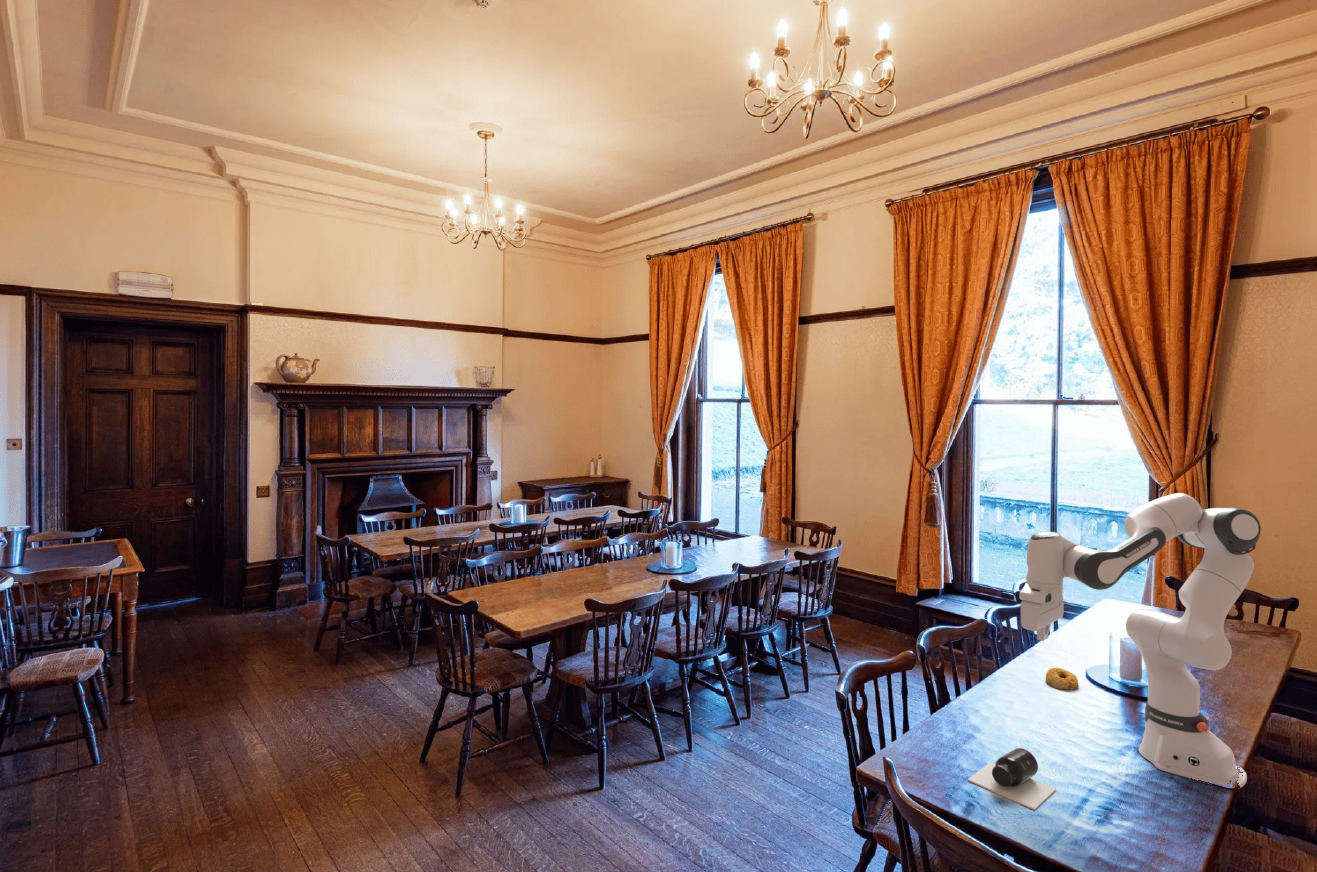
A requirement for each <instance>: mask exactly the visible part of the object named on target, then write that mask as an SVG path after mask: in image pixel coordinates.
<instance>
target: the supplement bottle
mask: <svg viewBox="0 0 1317 872" xmlns="http://www.w3.org/2000/svg"><path fill="white" fill-rule="evenodd" d="M994 764H995V767H994V768H993V770H992V776H993V778H994V780H995V781H996V782H997V783H998V784H999V785H1001V786H1005V787H1006V786H1009V785H1010V786H1018V785H1020V784H1021V783H1023V782H1025V781H1026V780H1028V779H1029V778H1031V779H1032V777H1034V776H1035V775H1037V772H1038V771H1039V764H1038V761H1037V759H1036V757H1035V756H1034V755H1033V754H1032V752H1030V751H1029V750H1028V749H1025V748H1022V747H1016V748H1015V749H1013V750H1011V751H1009V752H1007V753H1005V754H1004V755H1002V756H1001V757H1000V758H998V759H997V760H996V761H995V763H994Z"/></svg>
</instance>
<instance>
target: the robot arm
mask: <svg viewBox="0 0 1317 872" xmlns="http://www.w3.org/2000/svg"><path fill="white" fill-rule="evenodd" d="M1261 527H1262V526H1261V523H1260V520H1259V518H1258V517H1257V516H1256V515H1255V514H1254V513H1253V512H1251V511H1248V510H1246V509H1242V508H1239V507H1225V508H1224V507H1211V508H1205V509H1204V508H1203V507H1201V504H1200V503H1199V502H1198V501H1197V500H1196V499H1195V498H1194V497H1193V496H1191V495H1189V494H1187V493H1182V492H1180V493H1179V492H1175V493H1171V494H1168V495H1164V496H1162V497H1161V496H1160V497H1159V498H1156V499H1153V500H1151V501H1148V502H1146V503H1145V504H1144V503H1143V504H1142V505H1140V506H1137V508H1135V509H1133V510H1131V511H1130V512H1129V513H1128V514H1127V515H1126V516H1125V519H1124V528H1125V532H1126V533H1127V536H1128V538H1129V539H1127V540H1126V541H1124V542H1121V543H1120V544H1119V545H1117V546H1116V547H1114V548H1112V549H1108V550H1098V549H1093V548H1090V547H1087V546H1085V545H1082V544H1078V543H1076V542H1073V541H1071V540H1069V539H1067V538H1065V537H1064V536H1062V534H1061V533H1058V532H1057V531H1039V532H1036V533H1034V534H1031V535H1030V538H1029V540H1028V544H1027V551H1026V566H1027V573H1026V578H1025V584H1024V586H1023V587H1022V589H1021V590H1020V591H1019V600H1021V602H1020V624H1021V627H1022V628H1023V629H1025V630H1029V631H1032V632H1035V633H1036V639H1037V641H1041V642H1044V641H1045V640H1047V639H1049V632H1050V629H1051V625H1052V623H1055V622H1056V621H1058V620H1060V619H1062V618H1063V616H1064V613H1065V612H1064V611H1065V609H1064V606H1065V605H1064V596H1063V592H1064V591H1063V590H1064V588H1063V587H1064V581H1063V580H1064V578H1069V579H1072V580H1074V581H1077V582H1079V583H1082V584H1083V585H1085V586H1086V587H1089V588H1091V589H1093V590H1096V591H1098V590H1099V591H1104V590H1108V589H1110V588H1112V587H1113V586H1115V584H1117V583H1118V582H1119V581H1120V580H1121V578H1123V576H1124V575H1126V574H1127V572H1129V571H1130V570H1131V569H1133V568H1135V567H1137V566H1138V565H1140V564H1142V563H1143V562H1144V561H1147V559H1149V558H1151V557H1152V556H1154V555H1155V554H1157V553H1158V552H1160V550H1162V549H1163V548H1164V547H1165V545H1166V543H1167V542H1169V541H1171V540H1172V539H1174V538H1177V539H1178V540H1179V541H1180V543H1182V544H1184V545H1186V546H1189V547H1192V548H1196V549H1197V548H1198V549H1203V548H1204V549H1203V556H1202V559H1201V561H1200V563H1198V564H1197V566H1196V567H1195V568H1194V569H1193V571H1192V572H1191V574H1190V575H1189V576H1188V577H1187V579H1186V580H1185V582H1184V583H1183V584H1182V586H1181V587H1180V588H1179V590H1178V598H1179V601H1180V602H1181V604H1182V606H1184V607H1185V611H1184V613H1183V615H1182V616H1180V617H1178V616H1174V615H1171V614H1168V613H1165V612H1162V611H1158V610H1153V609H1144V608H1143V609H1141V608H1140V609H1136V610H1135V611H1133V612H1132V613H1130V614H1129V616H1128V617H1127V619H1126V622H1125V630H1126V634H1127V636H1128V637H1129V638H1130V640H1132V642H1134V645H1136V647H1137V649H1138V651H1139V653H1140V655H1141V657H1142V659H1143V660H1142V661H1143V663H1144V665H1145V668H1146V673H1147V701H1145V705H1144V718H1145V719H1144V720H1145V727H1144V732H1143V738H1142V739H1141V742H1140V745H1139V748H1138V752H1139V754H1140V755H1141V757H1143V758H1144V759H1146V760H1148V761H1149V762H1151V763H1152V764H1153V765H1154V766H1155V768H1157V769H1158V770H1160V771H1162V772H1163V771H1164V772H1165V773H1169V774H1172V775H1173V774H1174V775H1176V776H1180V777H1184V778H1188V779H1191V778H1192V779H1191V780H1194V779H1195V781H1198V780H1202V781H1205V782H1209V783H1218V784H1222V785H1227V783H1230V782H1229V781H1230V780H1238V781H1237V783H1239V784H1238V785H1239V786H1240V788H1239V789H1241V788H1243V787H1244V786H1245V785H1246V784H1247V782H1248V781H1247V780H1248V775H1247V773H1246V771H1245V770H1244V769H1243V768H1242V767H1240V768H1238V769H1240V772H1243V773H1239V774H1238V773H1237V772H1238V771H1237V770H1236V769H1237V767H1239V766H1238V765H1237V764H1236V759H1235V755H1234V753H1233V750H1232V749H1231V748H1230V747H1229V746H1228V745H1227V744H1226V743H1225V742H1224V741H1222V740H1221V739H1220V738H1219V737H1217V736H1216V735H1215V734H1214V733H1213V732H1211V731H1210V730H1209V725H1210V724H1209V723H1210V717H1209V716H1206V717H1205V715H1203V714H1202V713H1201V712H1200V702H1201V701H1200V698H1201V697H1200V696H1201V687H1200V683H1199V682H1198V679H1196V677H1195V676H1194V675H1193V674H1192V673H1191V672H1190V671H1189V669H1188V667H1187V666H1186V665H1189V666H1191V667H1194V668H1198V669H1199V668H1200V669H1204V670H1209V671H1217V670H1221V669H1223V668H1225V667H1226V665H1228V664H1229V662H1230V660H1231V659H1232V655H1233V653H1232V652H1233V649H1232V646H1231V643H1230V641H1229V639H1228V638H1227V636H1226V634H1225V630H1224V629H1225V626H1224V625H1225V621H1226V618H1227V615H1228V613H1230V610H1231V609H1232V607H1233V606H1234V604H1235V603H1236V601H1237V600H1238V599H1239V597H1240V596H1241V595H1242V593H1243V592H1244V590H1245V589H1246V587H1247V585H1248V584H1249V581H1250V579H1251V577H1252V575H1253V572H1254V569H1255V562H1254V560H1253V557H1251V556H1250V555H1249V553H1251V552H1252V551H1254V550H1255V549H1256V547H1257V543H1258V541H1259V539H1260V536H1261V531H1262V530H1261V529H1262V528H1261ZM1237 775H1238V776H1237ZM1242 775H1243V776H1242ZM1236 777H1239V778H1236ZM1234 778H1235V779H1234ZM1205 782H1204V783H1205ZM1209 783H1208V784H1209ZM1228 785H1229V784H1228Z"/></svg>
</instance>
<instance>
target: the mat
mask: <svg viewBox="0 0 1317 872" xmlns="http://www.w3.org/2000/svg"><path fill="white" fill-rule="evenodd" d="M995 764H996V763H995V762H991V761H990V762H988V763H987V764H986V765H985V766H983V767H982V768H980V769H979V770H978V771H976V772H975V773H974V774H973V775H971V776H970V777H969V778H967V781H968V782H969V783H973V785H974V784H975V785H976V786H978V787H981V788H983V789H986V790H988V791H990V792H992V793H994V794H997V795H999V796H1002V797H1003V798H1005V799H1009V800H1011V801H1013V802H1014V803H1017V804H1020V805H1021V806H1025V808H1028V809H1031V810H1034V811H1036V810H1037V809H1038V808H1039V807H1040V806H1041V805H1043V803H1044V802H1046V801H1047V800H1048V799H1049V798H1050V797H1051V796H1052V795H1053V794H1054V793H1055V792H1056V791H1057V788H1055V787H1052V786H1050V785H1049V784H1048V785H1047V784H1045V783H1042V782H1041V781H1039V780H1036V779H1033V778H1032V777H1031V778H1029V779H1028V780H1026V781H1025V782H1023V783H1021V784H1020V785H1018V786H1010V785H1009V786H1006V787H1005V786H1001V785H999V784H998V783H997V782H996V781H995V780H994V778H993V776H992V770H993V768H994V767H995Z"/></svg>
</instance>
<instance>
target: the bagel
mask: <svg viewBox="0 0 1317 872" xmlns="http://www.w3.org/2000/svg"><path fill="white" fill-rule="evenodd" d="M1045 682H1046V683H1047V684H1049V685H1051V687H1053V688H1055V689H1058V690H1074V689H1075V690H1076V689H1078V688H1079V680H1078V677H1077V675H1076V674H1074V673H1072V672H1070V671H1068V670H1066V669H1064V668H1061V667H1051V668H1048V670H1047V672H1046V673H1045Z"/></svg>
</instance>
